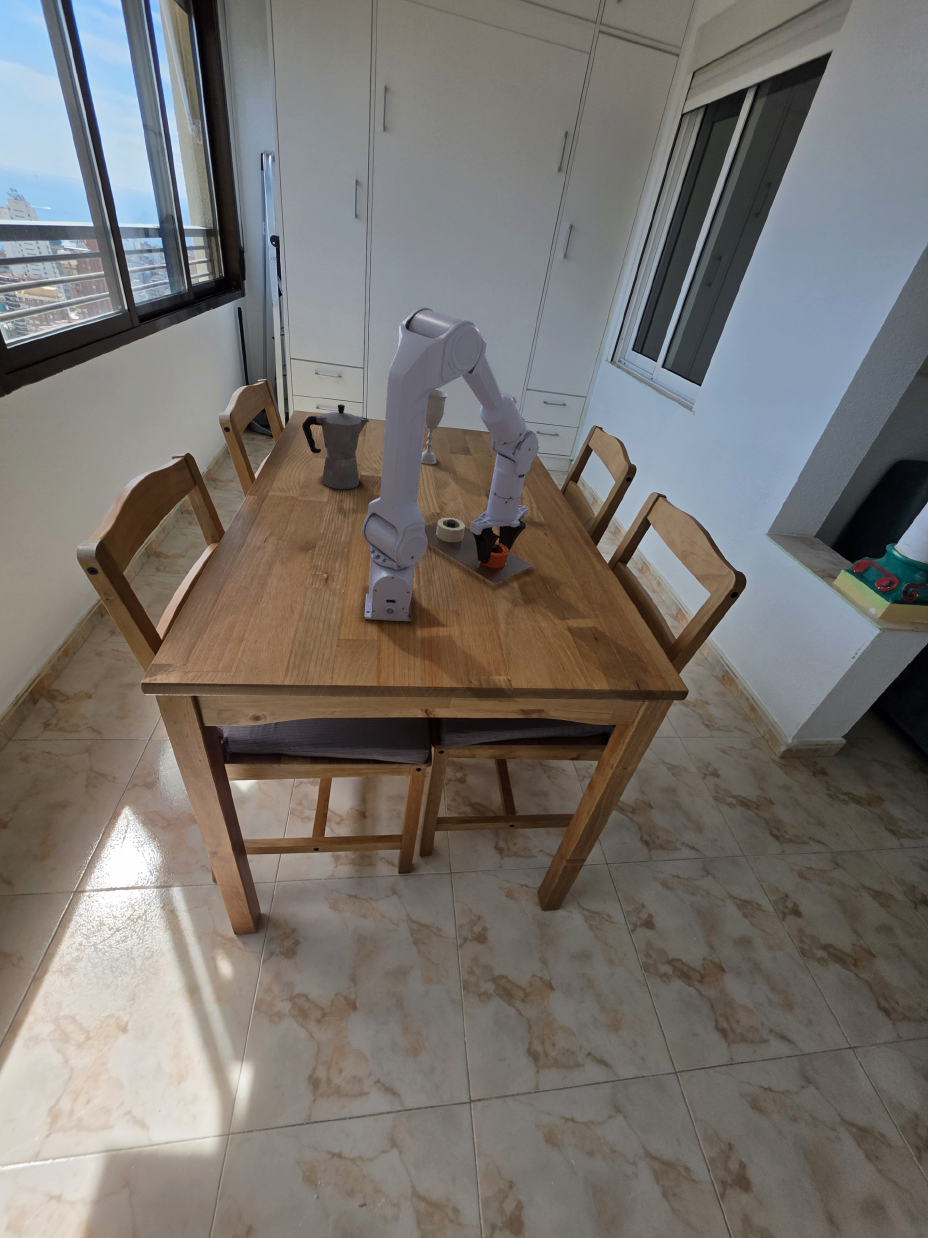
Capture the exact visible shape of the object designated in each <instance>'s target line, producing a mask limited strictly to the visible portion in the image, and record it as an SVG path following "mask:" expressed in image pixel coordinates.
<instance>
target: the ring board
mask: <svg viewBox="0 0 928 1238" xmlns="http://www.w3.org/2000/svg"><path fill="white" fill-rule="evenodd" d="M437 523H438V521H436V522H434V523H431V524H428V525H425V534H426V536H427V540H428V544H429V545H431V546H432V547H435V548H436V549H437V550H439V551H441V552H442V553H443V554H445V555H447V556H448V557H450V558H452V559H454V560H455V561H457V562H458V563H460V564H462V565H463V566H465V567H467V568H468V569H469V570H471V571H473V572H475V573H476V574H478V575H479V576H481V577H483V578H484V579H486V580H487V581H489V582H491V583H492V584H494V585H495V584H498V583H500V582H502V581H504V580H506V579H508V578H511V577H513V576H515V575H517V574H519V573H522V572H524V571H526V570H528V569H530V568H532V567H534V565H533V564H531V563H530V562H528V561H526V560H524V559H523V558H520V557H519V556H517V555H515V554H513V553H512V552H510V551H509V553H508V558H507V562H506V565H505V566H504V567H501V568H490V567H486V566H484V565H483V564H481V563H480V562H479V560H478V556H477V547H476V542H475V538H474V536H473V533H472V532H471V531H470V528H467V527H466V526H465V530H464V537H463V539H462V540H461V541H459V542H446V541H443V540H441V539H439V538H438V537H437V535H436V531H437ZM455 526H456V521H455V520H452V519H449V520H448V521H447V527H449V528H455ZM498 552H499V545H497V544H495V545H494V547H493V549H492V553H498Z"/></svg>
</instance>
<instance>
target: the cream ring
mask: <svg viewBox="0 0 928 1238" xmlns="http://www.w3.org/2000/svg"><path fill="white" fill-rule="evenodd" d="M449 519H452V520H455V521H456V526H455V528H449V527H447V521H448V520H449ZM437 522H438V523H437ZM437 522H436V523H437V531H436V535H437V537H438V538H439V539H441V540H443V541H446V542H459V541H461V540H462V539H463V537H464V530H465V527H466V525H465V523H464V522H463V521H462V520H460V519H458V518H453V517H442V518H440V519H438V521H437Z"/></svg>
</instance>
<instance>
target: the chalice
mask: <svg viewBox="0 0 928 1238" xmlns="http://www.w3.org/2000/svg"><path fill="white" fill-rule="evenodd" d="M448 396H449V395H448V393H447V392H445V391H442V390H440V389H439V390H438V389H435V390H434V391H433V392H432V393H431V394H430V395H429V396H428V403H427V412H426V422H425V429H428V434H427V436H426V437H427V441H426V442H425V444H426V449H425V450H423V451H422V460H421V464H425V465H435V464H437V459H436V455H435V453H434V452H433V451H432V449H431V448H432V445H433V442H432V439H433V438H434V435H433V431H434V430H436V429H437V428H438V426H439V425H440V423H441V422H442V419H443V417H444V413H445V406H446V399H447V398H448Z"/></svg>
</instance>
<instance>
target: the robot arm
mask: <svg viewBox="0 0 928 1238" xmlns="http://www.w3.org/2000/svg"><path fill="white" fill-rule="evenodd" d="M398 330H399V331H398V346H397V349H396V352H395V354H394V357H393V359H392V362H391V365H390V367H389V369H388V370H389V371H388V374H387V387H386V399H385V400H386V401H385V416H384V417H385V419H384V433H383V447H382V448H383V449H382V465H381V479H380V480H381V481H380V494H379V495H380V496H379V497H377V498H375V499H374V500H372V501H370V502H369V503H368V505H367V506H368V507H367V514H366V516H365V517H364V518H365V519H364V520H363V523H362V527H361V533H362V537H363V539H364V540H365V541H366V542H367V543H368V551H369V552H370V555H369V558H370V559H369V575H368V576H369V579H368V592H366V593H365V603H364V604H365V607H364V619H366V620H374V621H392V622H393V621H394V622H412V619H411V617H410V604H411V602H412V597H413V595H412V594H413V586H414V584H413V583H414V575H415V565H417V564H418V563H419V562H420V561H421V560H422V559H423V557H424V555H426V552H427V548H428V544H429V543H428V540H427V536H426V534H425V526H426V520H425V518H424V516H423V515H424V514H423V513H422V511H421V509H420V507H419V504H418V499H419V488H420V487H419V486H420V478H421V468H422V462H421V460H422V452H423V451H424V440H425V430H426V426H425V422H426V412H427V403H428V396H429V395H430V394H431V393H432V392H433V391H434V390H437V389H440V388H442V387H444V386H447V385H448V384H449V383H451V382H453V381H455V380H457V379H459V378H460V377H462V378H463V380H464V381H465V382H466V384H467V385H468V387H469V388H470V390H471V391H472V393H473V394H474V396H475V397H476V399H477V401H478V402H479V403H480V408H479V417H480V419H481V421H482V422H483V424H484V426H485V427H486V429H487V431H488V432H489V434H490V436H491V442H490V446H491V451H492V450H493V452H494V453H496V458H495V464H494V468H493V473H492V479H491V484H490V490H489V496H488V501H487V506H486V510H485V511H484V512H483V513H481V514H480V515H479V516H478V517H477V518H475V519H474V520H472V521H471V522H470V527H469V530H470V531H471V532H472V533H473V536H474V538H475V542H476V547H477V556H478V560H479V561H480V562H482V563H484V564H487V563H488V561H489V559H490V556H491V552H492V549H493V547H494V545H495V543H496V542H497V543H501V544H503V545H505V546H506V547H507V548H508V550H509V552H510V551H511V549H512V548H513V545H514V544H515V542H516V540H517V539H518V537H519V536H520V535H521V533H523V531H524V530H525V529H526V527H527V524H526V522H524V521H523V520H521V519H527V518H528V514H529V507H526V506H524V505H522V504H521V503H520V502H521V497H522V493H523V489H524V484H525V480H526V475H527V474H528V473H529V472H530V470H531V467H532V463H533V461H534V460H535V458H536V456H537V455H538V453H539V450H540V446H539V439H538V437H537V434H536V433H535V432H534V431H533V430H530V429H528V427H527V424H526V419H525V417H524V416H522V415H521V413H520V411H519V409H518V407H517V405H516V404H517V403H518V400H517V398H516V396H514V395H511V394H509V393H507V392H504V391H503V392H502V391H501V389H500V386H499V384H498V381H497V379H496V376H495V374H494V372H493V369H492V367H491V365H490V362H489V360H488V357H487V355H486V352H487V345H488V344H487V341H486V340H485V339H484V338H483V336H482V332H481V330H480V328H479V327H478V325H477V324H476V323H474V322H473V321H471V320H466V319H464V320H463V319H460V318H456V317H453V316H450V315H447V314H444V313H440V312H439V311H438V312H437V311H435V310H433V309H431V308H428V307H419V308H417V309H415V310H414V311H412V313H411V312H410V314H409V315H408V316H407V317H406V318H405V319H404V320H403V321H402V322H400V324H399V329H398ZM493 528H499V529H498V530H499V533H498V534H497V533H494V530H493Z"/></svg>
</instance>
